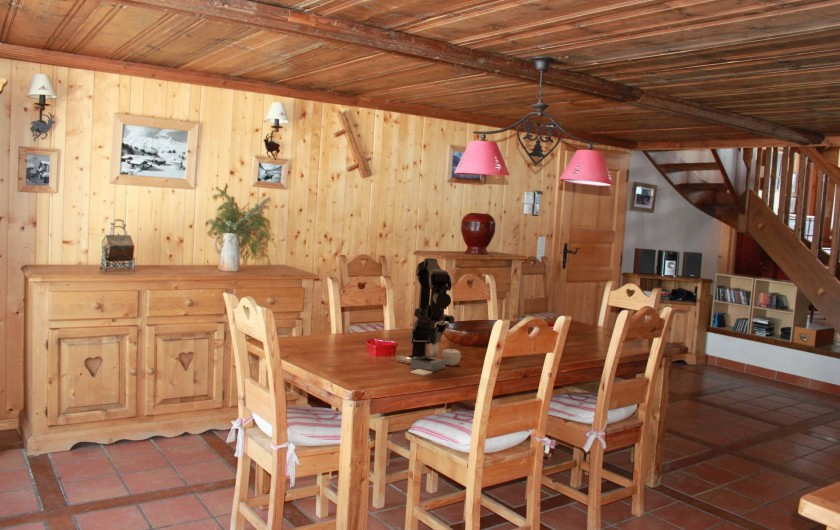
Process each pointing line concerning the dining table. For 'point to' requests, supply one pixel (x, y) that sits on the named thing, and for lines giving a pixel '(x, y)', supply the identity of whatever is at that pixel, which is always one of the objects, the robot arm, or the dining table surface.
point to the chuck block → (424, 363)
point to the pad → (421, 372)
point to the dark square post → (435, 345)
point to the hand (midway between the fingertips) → (434, 342)
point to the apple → (451, 356)
